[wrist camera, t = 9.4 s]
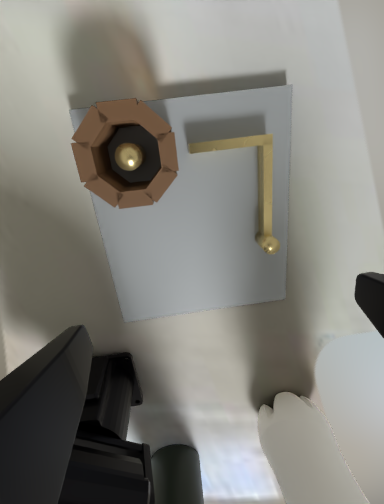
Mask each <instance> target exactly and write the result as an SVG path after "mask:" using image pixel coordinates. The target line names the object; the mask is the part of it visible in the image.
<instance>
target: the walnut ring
mask: <svg viewBox="0 0 384 504" xmlns="http://www.w3.org/2000/svg"><path fill="white" fill-rule="evenodd" d="M96 104H97V107H95V106H93V105H92V106H91V107H90V109H89V111H88V112H87V114H86V116H85V117H84V119H83V121H82V122H81V124H80V125H79V127H78V129H77V130H76V132H75V134H74V135H73V137H72V139H73V140H74V141H76V142H77V143H71V145H72V149H73V153H74V157H75V161H76V165H77V168H78V172H79V176H80V180H81V182H86V184H85V185H84V187H86V188H87V189H89V190H90V191H91V192H93V193H94V194H96V195H97V196H99V197H100V198H101V199H103V200H104V201H106V202H107V203H108V204H110V205H111V206H113V207H114V208H115V207H116V206H117V205H118V206H119V209H124V208H132V207H140V206H149V205H153V204H154V201H155V202H156V203H157V202H158V201H159V199H160V198H161V197H162V195H163V194H164V193H165V191H166V190H167V189H168V187H169V186H170V185H171V183H172V182H173V181H174V179H175V178H176V177H177V176H178V174H177V172H176V171H179V167H178V159H177V150H176V142H175V133H174V132H171V130H172V127H171V126H170V125H169V124H167V123H166V122H165V121H164V120H163V119H162V118H161V117H160V116H158V115H157V114H156V113H155V112H154V111H153V110H152V109H150V108H149V107H148V106H147V105H146V104H145V103H144V102H143V101H141V100H140V102H138V101H137V99H136V98H133V99H123V100H114V101H104V102H96ZM133 126H142V127H144V128H145V129H146V130H147V131H148V132H149V133H151V134H152V135H153V136H154V137H155V138H157V140H158V147H159V154H160V161H161V167H160V168H159V169H158V171H157V172H156V173H155V175H154V176H153V178H152V179H151V180H149V181H140V182H132V183H130V182H128V181H127V180H126V179H124V178H123V177H122V176H120V175H119V174H118V173H117V172H115V171H114V170H113V169H112V166H111V161H110V157H109V152H108V147H107V146H108V145H109V143H110V142H111V140H112V139H113V137H114V136H115V134H116V133H117V131H118V130H119V128H124V127H133Z"/></svg>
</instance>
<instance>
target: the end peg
mask: <svg viewBox="0 0 384 504" xmlns="http://www.w3.org/2000/svg"><path fill="white" fill-rule="evenodd" d="M115 160H116V163H117V164H118V166H119V167H120V168H122V169H124V170H127V171H131V170H134V169H136V168H138V167H139V166H140V165H142V164H143V163H144V162H145V160H146V151H145V149H144V148H143V147H142V146H141V145H139V144H134V143H123V144H121V145H119V146H118V147H117V149H116V151H115Z"/></svg>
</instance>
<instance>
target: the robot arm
mask: <svg viewBox="0 0 384 504" xmlns="http://www.w3.org/2000/svg"><path fill="white" fill-rule="evenodd" d="M355 300H356V302H357V304H358V305H359V307H360V308H361V309H362V311H363V312H364V313H365V314H366V316H367V317H368V318H369V320H370V321H371V322H372V324H373V325H374V326H375V328H376V329H377V330H378V332H379V333H380V334H381V335H382V337H383V338H384V274H379V273H375V272H367V273H362V274H359V275H358V276H357V278H356V286H355ZM92 354H93V346H92V343H91V340H90V338H89V335H88V332H87V330H86V328H85V326H84V325H77V326H72V327H69V328H68V329H67V330H65V331H64V332H63V333H61V334H60V335H59V336H58V337H56V338H55V339H54V340H52V341H51V342H50V343H48V344H47V345H46V346H45V347H43V348H42V349H41V350H39V351H38V352H37V353H36V354H34V355H33V356H32V357H30V358H29V359H28V360H26V361H25V362H24V363H23V364H21V365H20V366H19V367H17V368H16V369H15V370H13V371H12V372H11V373H10V374H8V375H7V376H6V377H4V378H3V379H2V380H1V381H0V504H155V494H154V484H153V475H152V465H151V456H150V446H149V445H148V444H144V443H142V444H138V443H134V442H130V441H126V437H127V430H128V423H129V416H130V409H131V406H137V405H141V404H142V402H143V396H142V392H141V388H140V384H139V381H138V377H137V373H136V369H135V365H134V361H133V358H132V355H131V354H130V353H120V354H114V355H107V356H100V357H94V358H92ZM125 358H128V359H125Z"/></svg>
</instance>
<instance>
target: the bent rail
mask: <svg viewBox="0 0 384 504" xmlns="http://www.w3.org/2000/svg"><path fill="white" fill-rule="evenodd" d="M251 146H257V150H258V229H259V232H257V234H256V235H255V241H256V243H257V244H258V245H259V246H260V247H261V248H262V249H263V250H264V251H265V252H266V253H267V254H275V253H276V252H278V250H279V249H280V242H279V241H278V240H277V239H276V238H275V237H274V236H272V173H273V134H265V135H256V136H248V137H240V138H232V139H223V140H215V141H207V142H198V143H190V144H188V152H189V154H194V153H202V152H210V151H218V150H227V149H235V148H243V147H251Z"/></svg>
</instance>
